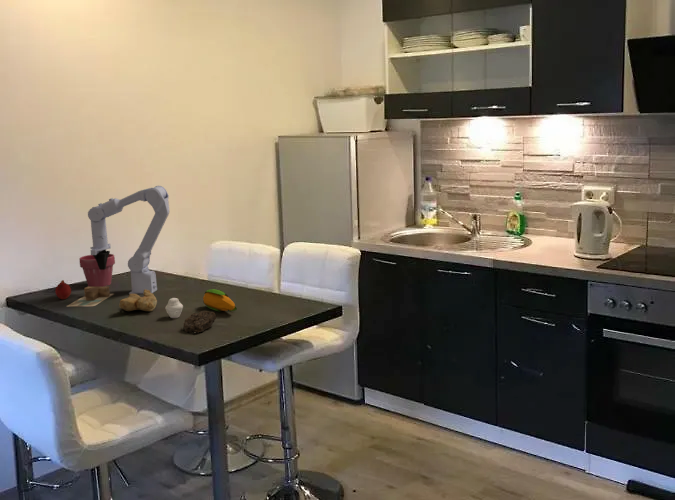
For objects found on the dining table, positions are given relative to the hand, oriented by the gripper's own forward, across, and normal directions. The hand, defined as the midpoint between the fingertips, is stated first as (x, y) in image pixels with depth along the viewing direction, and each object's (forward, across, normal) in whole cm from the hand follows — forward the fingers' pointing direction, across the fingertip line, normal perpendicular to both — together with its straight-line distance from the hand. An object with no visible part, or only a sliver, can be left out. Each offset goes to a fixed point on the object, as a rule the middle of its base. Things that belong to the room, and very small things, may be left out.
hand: (102, 269), depth 296 cm
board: (+10, +13, 0) cm, 16 cm away
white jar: (+10, +35, +41) cm, 55 cm away
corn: (+10, +27, +56) cm, 62 cm away
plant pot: (+10, -13, -8) cm, 18 cm away
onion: (+10, +11, -12) cm, 19 cm away
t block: (+9, +10, 0) cm, 13 cm away
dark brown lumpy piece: (+10, +49, +54) cm, 73 cm away
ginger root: (+10, +26, +25) cm, 37 cm away
